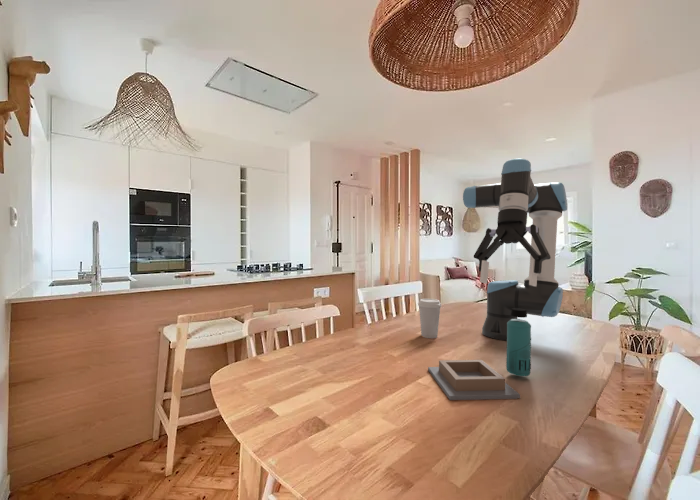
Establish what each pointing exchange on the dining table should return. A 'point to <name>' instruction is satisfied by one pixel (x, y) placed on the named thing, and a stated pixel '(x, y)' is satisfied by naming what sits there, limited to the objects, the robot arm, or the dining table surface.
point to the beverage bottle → (518, 344)
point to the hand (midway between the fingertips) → (506, 284)
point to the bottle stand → (471, 380)
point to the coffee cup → (429, 317)
